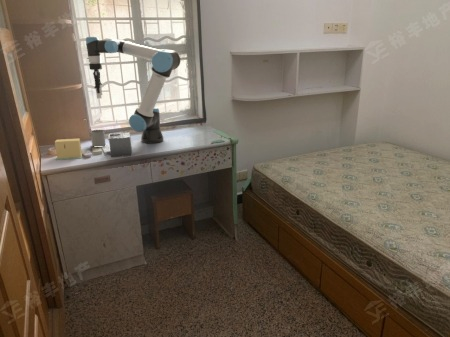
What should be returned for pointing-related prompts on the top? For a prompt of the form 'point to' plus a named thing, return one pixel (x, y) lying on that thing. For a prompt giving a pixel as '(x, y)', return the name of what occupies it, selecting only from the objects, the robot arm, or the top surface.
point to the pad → (69, 158)
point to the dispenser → (120, 144)
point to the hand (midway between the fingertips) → (99, 96)
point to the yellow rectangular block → (68, 148)
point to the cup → (98, 138)
